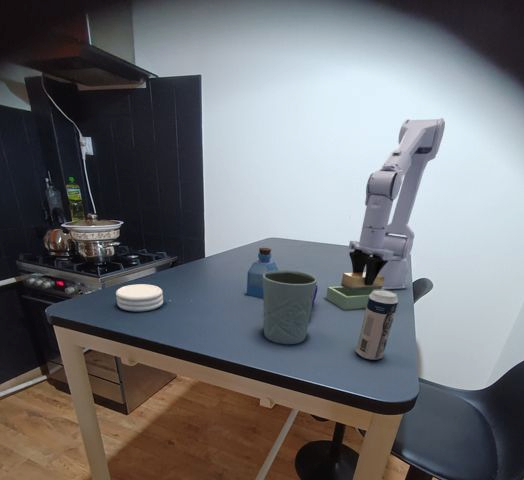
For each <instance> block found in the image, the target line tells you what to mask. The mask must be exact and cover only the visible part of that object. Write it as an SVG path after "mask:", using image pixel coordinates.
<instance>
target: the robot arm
mask: <svg viewBox="0 0 524 480" xmlns="http://www.w3.org/2000/svg"><path fill="white" fill-rule="evenodd" d="M445 127H446V121H445V120H444V118H443V117H441V118H436V119H435V118H433V119H429V118H428V119H405V120H404V121H403V122H402V124H401V126H400V129H399V133H398V141H397V142H398V147H397V149H394V150H392V151H391V152H390V153H389V154H388V155H387V158H385V161H384V162H383V163H382V165H381V166H380V168H379V169H378V170H375V171H374V172H372V173H371V174H369V176H368V179H367V183H366V186H365V201H364V204H365V206H366V207H365V211H364V216H363V221H362V227H361V231H360V232H361V233H360V237H359V241H357V240H349V243H348V244H349V245H348V249H350V250H353V251H349V255H348V256H349V258H350V261H351V262H350V263H351V266H352V273H362V272H366V275H365V285H373V283H374V281H375V279H376V277H377V275H378V274H380V275H383V276H385V278H384V282H383V286H382V289H384V290H399V289H406V286H404V285H405V282H406V280H407V279H406V278H407V275H408V272H409V262H408V258H409V256H410V254H411V252H412V249H413V245H414V239H415V232H414V230H412V228H411V227H410V226H409V222H410V218H411V215H412V212H413V208H414V205H415V202H416V199H417V195H418V193H419V189H420V186H421V182H422V178H423V175H424V172H425V169H426V168H427V166H428V162H430V161H431V160H434V159H436V157H437V154H438V152H439V150H440V146H441V142H442V140H443V136H444V132H445ZM396 199H397V200H396ZM394 200H396V204H395V207H394V211H393V215H392V219H391V222H390V223H389V221H390V218H391V217H390V216H391V212H392V208H393V202H394Z"/></svg>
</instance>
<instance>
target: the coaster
mask: <svg viewBox="0 0 524 480" xmlns="http://www.w3.org/2000/svg"><path fill="white" fill-rule="evenodd" d="M163 293H164V292H163V289H162V288H161V287H159V286H157V285H153V284H146V283H137V284H129V285H125V286H124V285H123V286H121V287H119V288H118V289H117V290H116V291H115V295H116V301H117V302H116V303H117V306H118V307H119V308H120V309H121V310H124V311H127V312H137V313H138V312H148V311H153V310H156V309H158V308H160V307H161V306H163V304H164V295H163Z"/></svg>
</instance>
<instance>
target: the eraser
mask: <svg viewBox="0 0 524 480" xmlns="http://www.w3.org/2000/svg"><path fill="white" fill-rule="evenodd" d="M365 275H366V271H364V272H362V273H353V272H343V273H342V276H341V277H342V278H341V282H340V286H342V287H344V288H346V289H348V290H350V291H356V290H372V289H382V286H383V282H384V278H385V276H383V275H380V274H378V275H377V277H376V279H375V281H374V283H373V285H365Z"/></svg>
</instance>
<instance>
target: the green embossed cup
mask: <svg viewBox="0 0 524 480" xmlns="http://www.w3.org/2000/svg"><path fill="white" fill-rule="evenodd" d="M317 282H318V278H317V277H316V276H315V275H313V274H310V273H307V272H304V271H298V270H288V269H287V270H286V269H278V270H276V271H269V272H266V273H264V274H263V292H264V296H263V298H262V299H263V317H264V318H263V335H264V337H265V338H266V339H267V340H269V341H271V342H274V343H276V344H283V345H297V344H301V343H302V342H303V341H305V339H306V337H307V333H308V328H309V322H310V318H311V314H312V313H311V312H312V309H313V307H312V300H313V296H314V293H315V288H316V285H317V284H318V283H317Z"/></svg>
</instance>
